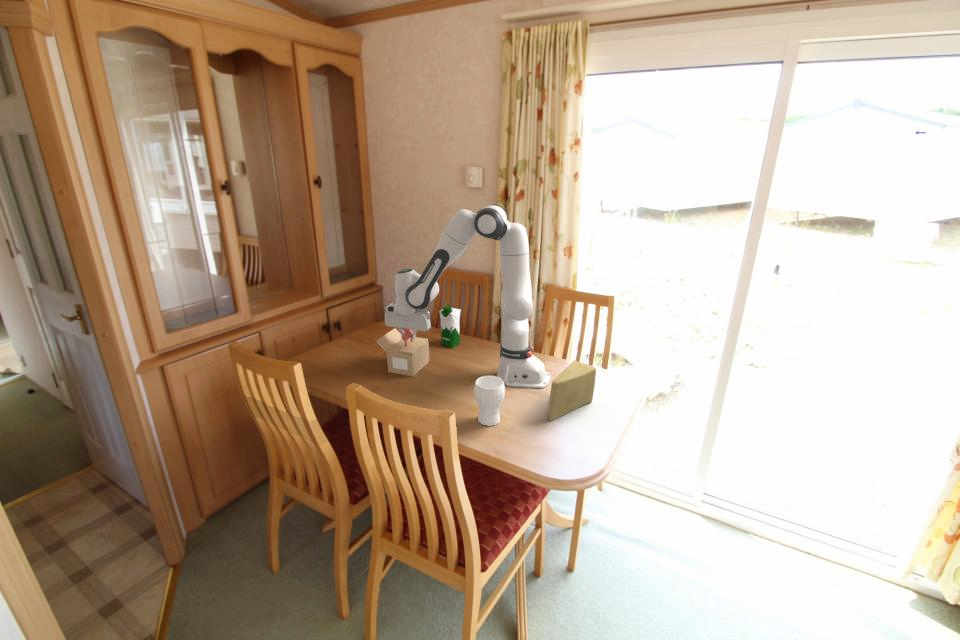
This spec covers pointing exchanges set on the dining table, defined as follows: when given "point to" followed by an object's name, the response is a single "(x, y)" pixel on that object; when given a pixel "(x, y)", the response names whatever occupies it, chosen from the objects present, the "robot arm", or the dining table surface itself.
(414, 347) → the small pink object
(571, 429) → the dining table surface
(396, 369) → the carton
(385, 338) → the open flap
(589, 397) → the cheese
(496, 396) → the cup
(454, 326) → the milk carton
